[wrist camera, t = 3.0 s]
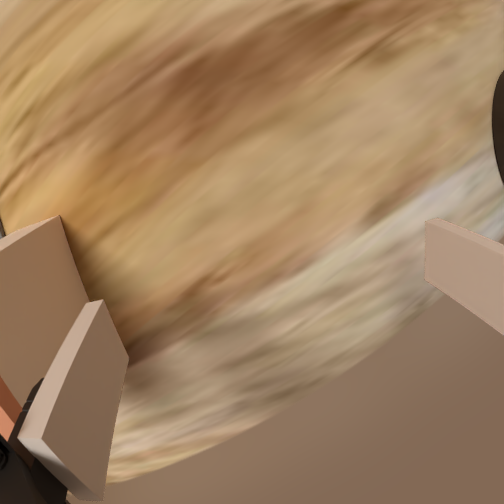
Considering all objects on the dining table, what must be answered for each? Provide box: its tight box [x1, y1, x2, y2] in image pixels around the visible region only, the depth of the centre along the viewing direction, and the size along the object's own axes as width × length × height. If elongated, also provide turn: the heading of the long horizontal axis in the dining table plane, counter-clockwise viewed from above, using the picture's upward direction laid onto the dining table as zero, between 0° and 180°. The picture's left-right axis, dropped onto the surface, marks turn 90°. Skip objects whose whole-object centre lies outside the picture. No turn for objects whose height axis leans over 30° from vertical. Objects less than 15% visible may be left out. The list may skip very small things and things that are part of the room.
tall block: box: [0, 215, 90, 441], centre depth 13 cm, size 4×8×12 cm, turn 10°
